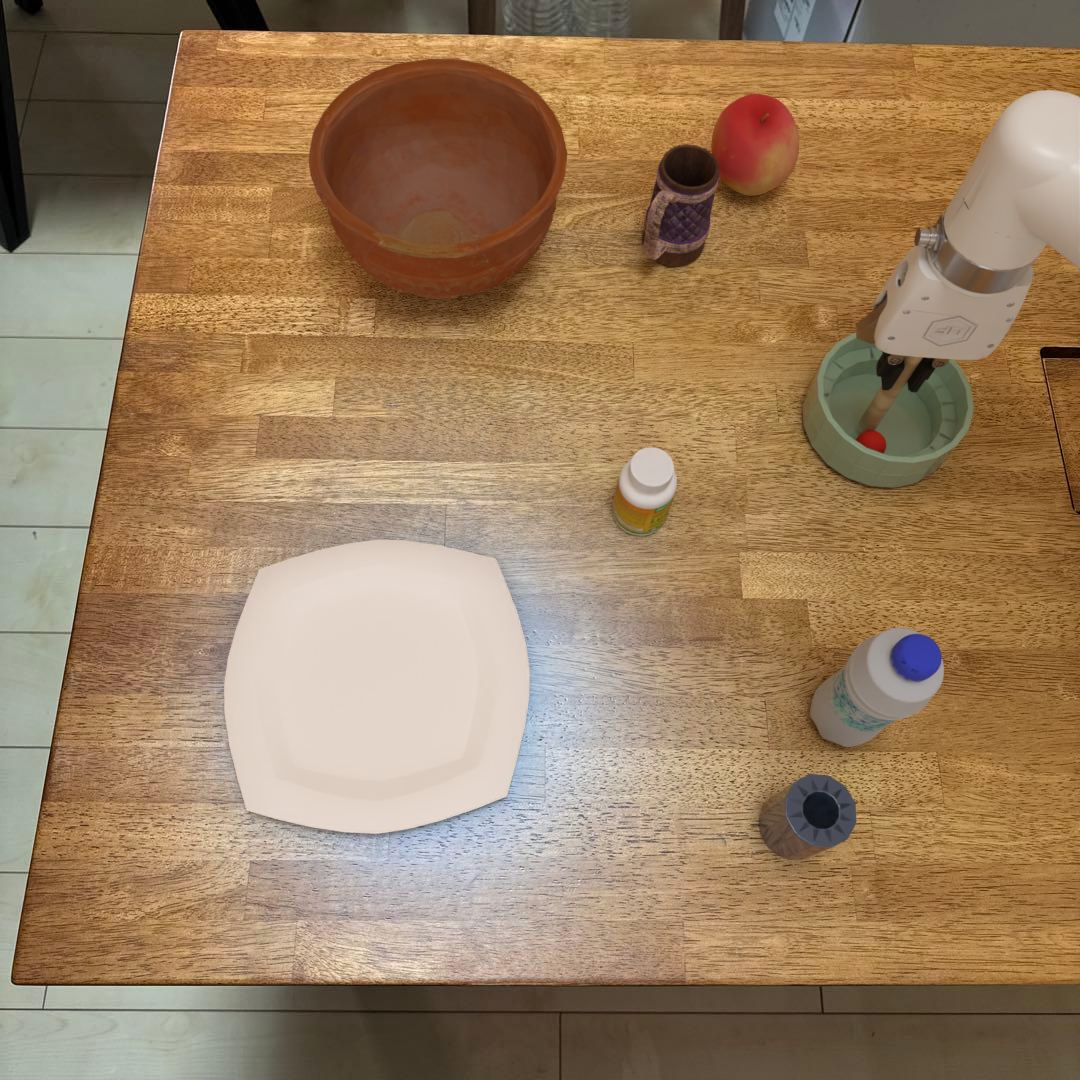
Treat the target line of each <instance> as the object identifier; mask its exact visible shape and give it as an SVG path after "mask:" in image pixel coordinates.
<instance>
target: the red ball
mask: <svg viewBox="0 0 1080 1080" xmlns="http://www.w3.org/2000/svg"><path fill="white" fill-rule="evenodd" d="M856 441H857V442H859V443H860V444H862V445H863V446H865V447H866V448H869V449H872V450H874V451H877V452H880V453H883V454H884V452H885V450H886V440H885V438H884V436H883V435H882V434H881V433H879V432H877V431H874V430H868V431H865V432H863V433H861V434H860V435H859V436H858V437H857V439H856Z"/></svg>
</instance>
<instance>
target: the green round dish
mask: <svg viewBox="0 0 1080 1080" xmlns="http://www.w3.org/2000/svg"><path fill="white" fill-rule="evenodd" d="M881 355H882V352H881V351H880V350H879V349H878V348H876V345H875V344H874V343H872V344H871V343H868V342H865V341H862V340H859V339H857V338H856V331H855V332H853V333H851V334H849V335H848V336H845V337H844V338H842V339H840V340H839V341H837V342H835V344H834V345H832V347H831V348H830V350H829V351H828V352H827V353H826V354H825V355H824V356H823V358H822V360H821V362H820V363H819V366H818V368H817V370H816V372H815V374H814V376H813V378H812V379H811V381H810V384H809V385H808V388H807V390H806V393H805V396H804V400H803V402H802V424H803V429H804V431H805V433H806V436H807V438H808V441H809V443H810V445H811V447H812V448H813V449H814V450H815V452H816V453H817V454H818V456H820V458H821V459H822V460H823V462H824V463H825V464H826V465H827V466H829V467H830V468H832V469H833V470H835V471H836V472H837V473H839V474H840V475H841V476H843V477H845V478H847V479H849V480H852V481H854V482H857V483H860V484H863V485H866V486H869V487H877V488H891V489H893V488H895V489H896V488H899V487H903V486H908V485H913V484H917V483H919V482H920V481H922V480H924V479H925V478H927V477H928V476H930V475H932V474H933V473H935V472H936V471H937V470H938V468H939V467H940V466H941V465H942V464H943V463H944V462H945V460H946V459H947V458H948V457H949V456H950V454H951V453H952V452H953V451H954V450H955V448H956V447H957V446H958V445H959V444H960V442H961V441H962V439H963V438H964V437H965V435H966V434H967V433H968V432H969V430H970V427H971V423H972V419H973V416H974V413H975V407H974V399H973V397H974V396H973V389H972V387H971V384H970V382H969V380H968V378H967V376H966V374H965V372H964V370H963V368H962V367H961V366H960V364H959V363H958V362H957V360H954V359H950V360H949V361H948V363H947V364H946V365H945V366H944V367H942V368H936V369H935V370H934V372H933V373H932V374H931V376H930V377H929V379H928V380H925V381H924V383H923V384H922V386H921V387H920V389H919V390H918V391H917V392H910V391H909V390H908V381H907V383H906V384H905V386H904V387H903V389H902V390H901V392H900V393H899V395H898V396H897V398H896V399H895V401H894V402H893V404H892V405H891V407H890V408H889V410H888V411H887V413H886V414H885V416H884V417H883V419H882V420H881V422H880V423H879V425H878V426H877V428H876V429H875V431H877V432H879V433H881V434H882V435H883V436H884V438H885V440H886V450H885V452H884V454H883V453H880V452H877V451H874V450H872V449H869V448H866V447H865V446H863V445H862V444H860V443H859V442H857V441H856V439H857V437H858V436H859V435H860V434H861V433H863V432H864V431H862V430H861V429H860V427H859V420H860V419H861V417H862V416H863V414H864V412H865V411H866V409H867V408H868V406H869V404H870V403H871V401H872V400H873V398H874V396H875V395H876V393H877V392H878V390H879V389H880V387H881V385H882V382H881V377H878V376H877V372H876V366H877V362H878V360H879V358H880V357H881Z"/></svg>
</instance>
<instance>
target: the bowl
mask: <svg viewBox="0 0 1080 1080" xmlns="http://www.w3.org/2000/svg"><path fill="white" fill-rule="evenodd" d="M567 161H568V151H567V145H566V140H565V137H564V133H563V128H562V126H561V124H560V122H559V120H558V118H557V116H556V114H555V112H554V110H553V109H552V108H551V107H550V106H549V104H548V103H547V102H546V101H545V100H544V98H543V97H542V96H541V95H540V93H538V92H537V90H536V91H535V90H534V89H533V88H532V87H530V86H529V85H528V84H527V83H525V82H524V81H523V80H521V79H520V78H518V77H515V76H513V75H511V74H509V73H507V72H505V71H503V70H501V69H498V68H495V67H493V66H490V65H487V64H485V63H480V62H475V61H470V60H465V59H460V58H459V59H458V58H426V59H420V60H414V61H408V62H407V61H406V62H402V63H401V62H399V63H395V64H391V65H389V66H386V67H383V68H380V69H377V70H374V71H373V72H371V73H369V74H367V75H366V76H364V77H362V78H360V79H358V80H356V81H354V82H353V83H351V84H349V85H348V86H347V87H346V88H344V89H343V91H341V92H340V93H339V94H338V95H337V96H336V97H334V99H333V100H332V101H331V103H330V104H329V105H328V106H327V107H326V108H325V110H324V111H323V112H322V114H321V116H320V118H319V121H318V122H317V124H316V125H315V128H314V130H313V131H312V136H311V141H310V147H309V153H308V168H309V174H310V179H311V181H312V184H313V186H314V190H315V192H316V195H318V197H319V199H320V200H321V201H320V202H322V204H323V206H325V208H326V209H327V212H328V215H329V217H330V223H331V226H332V227H333V231H334V232H335V234H336V235H337V237H338V238H339V239H340V242H341V243H342V245H343V247H344V248H345V249H346V250H347V252H348V253H349V254H350V256H351V257H352V258H353V259H354V260H355V263H357V265H358V266H360V267H361V268H362V269H363V270H364V271H365V272H366V274H368V275H369V276H371V277H373V278H375V279H376V280H377V281H379V282H381V283H382V284H383V285H385V286H387V287H388V288H391V289H393V290H395V292H398V293H401V294H402V293H404V292H406V293H410V294H413V295H416V296H419V297H420V298H430V299H435V300H449V301H450V300H456V299H458V298H459V297H460V296H472V295H475V294H479V293H482V292H484V291H487V290H490V289H494V288H495V287H498V286H501V285H502V284H504V283H505V282H507V280H508V279H513V277H515V276H517V274H518V273H519V272H521V270H522V269H523V268H524V267H525V266H526V265H528V263H529V262H530V260H531V259H532V257H533V256H534V255H535V254H536V253H537V252H538V250H539V249H540V247H541V246H542V245H543V243H544V240H545V238H546V237H547V234H548V232H549V231H550V229H551V228H550V227H551V226H552V223H553V220H554V214H555V212H556V207H557V206H556V205H557V197H558V195H559V193H560V191H561V189H562V186H563V184H564V180H565V177H566V172H567V171H566V169H567Z"/></svg>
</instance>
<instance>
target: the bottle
mask: <svg viewBox="0 0 1080 1080" xmlns="http://www.w3.org/2000/svg"><path fill="white" fill-rule="evenodd" d="M943 660H944V659H943V657H942V651H941V649H940V647H939V645H938V643H937V642H936V641H935V640H934V639H933V638H931V637H930V636H927V635H925V634H922V633H921V632H919V631H917V630H914V629H911V628H907V627H906V628H905V627H893V628H889V629H886V630H883V631H882V632H880V633H877V634H875V635H872V636H870V637H868V638H867V639H865V640H863V641H862V642H861V643H859V644H858V646H857V647H856V648H855V649H854V650H853V652H852V653H851V655H850V656H849V657H848V659H847V662H846V664H845V665H844V666H842V668H840V669H839V670H838V671H837V672H836V673H834V674H833V675H831V676H830V677H828V678H827V679H825V680H824V681H823V682H822V683H821V684H820V685H818V687H817V689H816V690H815V691H814V693H813V696H812V700H811V705H810V708H809V716H810V719H811V720H812V721H813V723H814V724H815V726H816V729H817V731H818V734H819V736H820V737H821V738H822V739H823V740H826V741H829V742H832V743H835V744H837V745H840V746H841V747H844V748H854V747H857V746H860V745H863V744H865V743H868V742H870V741H871V740H873V739H874V738H876V737H877V735H880V733H881V732H882V731H883V730H884V729H885V728H886V727H888V726H890V725H891V724H892V723H894V722H896V721H901V720H904V719H907V718H909V717H911V716H913V715H916V714H917V713H919V712H921V711H922V710H923V709H925V708H926V706H927V705H928V704H929V703H930V701H931V700H932V698H933V697H934V696H935V694H936V693H937V692H938V691H939V689H940V688H941V685H942V683H943V682H944V676H945V665H944V661H943Z"/></svg>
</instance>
